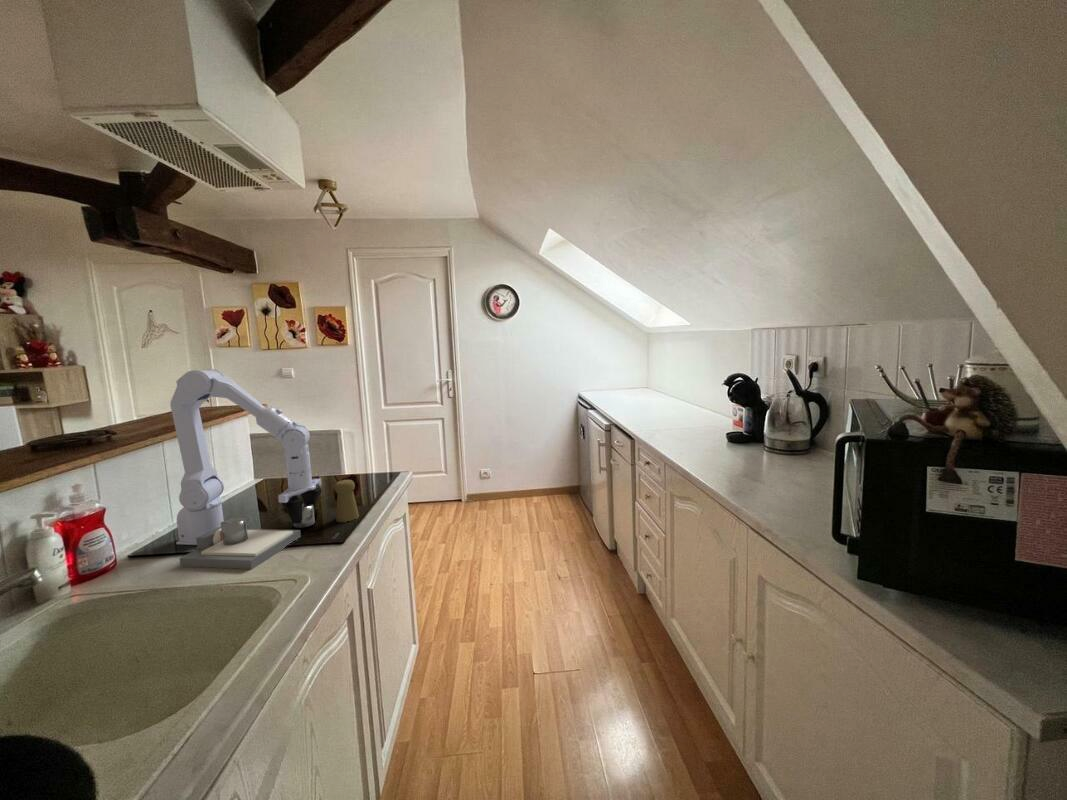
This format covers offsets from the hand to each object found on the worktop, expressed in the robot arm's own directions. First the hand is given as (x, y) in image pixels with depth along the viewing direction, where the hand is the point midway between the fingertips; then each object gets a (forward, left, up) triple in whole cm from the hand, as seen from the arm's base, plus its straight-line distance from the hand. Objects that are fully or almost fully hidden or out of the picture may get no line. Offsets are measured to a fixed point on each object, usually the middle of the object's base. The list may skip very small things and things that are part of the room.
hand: (304, 519), depth 116 cm
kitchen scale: (-5, -15, -2) cm, 16 cm away
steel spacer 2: (0, 0, -1) cm, 1 cm away
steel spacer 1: (-7, -15, +1) cm, 17 cm away
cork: (+9, +6, -2) cm, 11 cm away
